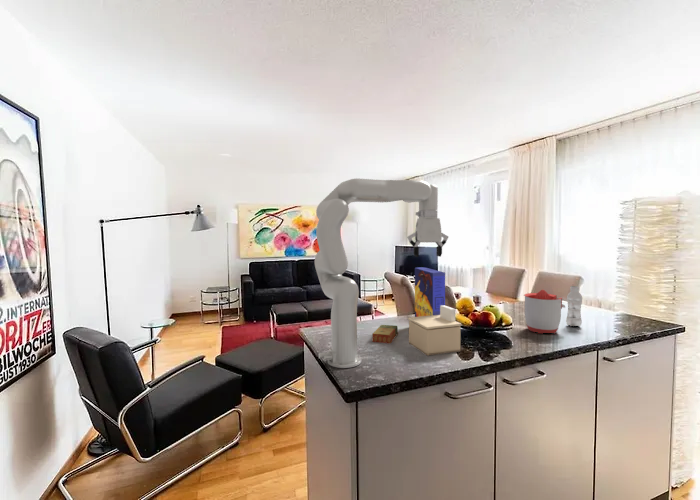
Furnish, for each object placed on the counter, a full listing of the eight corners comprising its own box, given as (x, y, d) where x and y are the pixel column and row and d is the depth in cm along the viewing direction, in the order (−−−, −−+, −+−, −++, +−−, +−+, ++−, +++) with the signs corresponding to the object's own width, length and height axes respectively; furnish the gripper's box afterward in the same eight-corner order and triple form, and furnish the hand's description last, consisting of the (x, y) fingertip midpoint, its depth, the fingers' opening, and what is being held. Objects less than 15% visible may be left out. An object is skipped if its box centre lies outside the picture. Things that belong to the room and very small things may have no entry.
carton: (371, 342, 149) (371, 333, 148) (380, 332, 164) (380, 323, 164) (390, 344, 146) (390, 334, 146) (398, 334, 161) (397, 325, 161)
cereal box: (414, 326, 173) (414, 267, 171) (426, 325, 174) (426, 267, 172) (432, 339, 151) (432, 272, 150) (444, 338, 152) (445, 271, 151)
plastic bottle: (562, 325, 171) (563, 286, 170) (572, 324, 173) (573, 285, 172) (574, 329, 165) (575, 288, 164) (585, 327, 167) (586, 287, 166)
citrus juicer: (571, 336, 153) (572, 292, 152) (530, 335, 156) (531, 292, 155) (556, 327, 168) (557, 287, 167) (519, 326, 171) (519, 286, 170)
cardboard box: (427, 355, 131) (427, 330, 131) (409, 343, 146) (409, 320, 145) (460, 351, 136) (460, 326, 135) (439, 340, 150) (439, 317, 150)
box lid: (426, 329, 130) (426, 314, 130) (408, 319, 145) (408, 306, 145) (461, 325, 135) (461, 311, 135) (439, 316, 150) (440, 303, 150)
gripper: (410, 214, 135) (410, 257, 136) (451, 214, 138) (451, 256, 139) (405, 215, 143) (404, 256, 144) (444, 215, 145) (443, 255, 146)
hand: (427, 256), depth 141 cm, fingers open, 9 cm apart
